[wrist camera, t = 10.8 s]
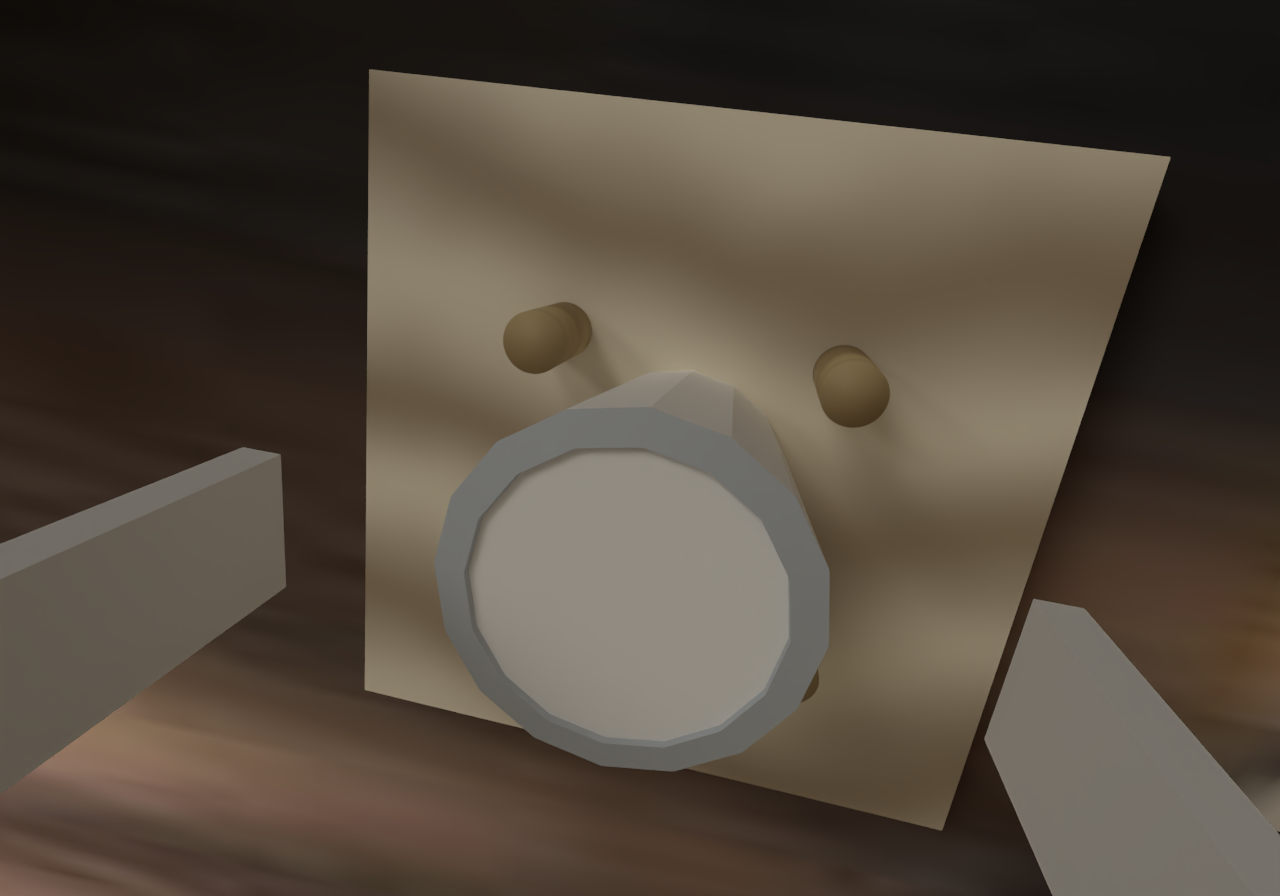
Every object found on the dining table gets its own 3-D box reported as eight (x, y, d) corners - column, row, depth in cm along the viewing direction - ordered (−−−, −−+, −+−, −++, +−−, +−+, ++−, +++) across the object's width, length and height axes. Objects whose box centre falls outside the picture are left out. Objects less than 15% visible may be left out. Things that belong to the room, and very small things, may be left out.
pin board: (400, 83, 18) (302, 40, 14) (1134, 165, 16) (1250, 139, 12) (389, 663, 23) (315, 742, 20) (930, 791, 21) (965, 910, 17)
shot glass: (628, 292, 17) (537, 321, 10) (866, 437, 17) (927, 560, 10) (510, 508, 19) (373, 644, 13) (719, 636, 19) (691, 840, 13)
